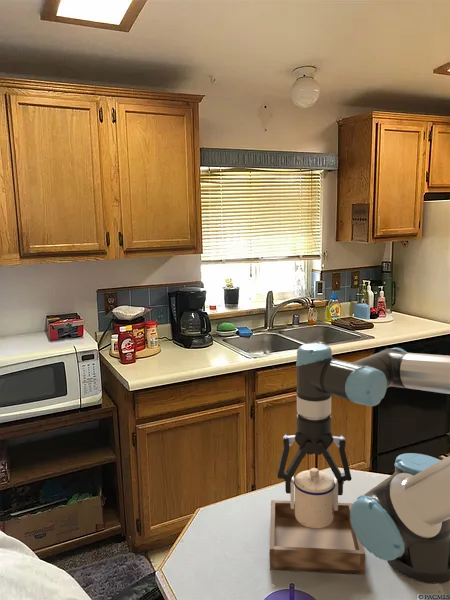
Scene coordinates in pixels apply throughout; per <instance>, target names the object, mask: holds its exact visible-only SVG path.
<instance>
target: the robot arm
mask: <svg viewBox="0 0 450 600" xmlns="http://www.w3.org/2000/svg"><path fill="white" fill-rule="evenodd" d="M332 352H333V351H332V348H331V347H330V346H328V345H327V344H324V343H315V342H313V343H305V344H302V345H300V346H299V347H298V349H297V351H296V362H295V363H296V364H295V369H296V370H295V371H296V413H297V414H296V432H295V434H293V435H292V434H291V435H288V434H287V433H284V434H283V435H282V442H283V447H282V451H281V455H280V459H279V463H278V468H277V472H276V473H277V474H276V475H277V479H279V480H281V479H283V480H284V481H285V482H284V483H285V485H284V486H285V490H284V491H285V493H286V494H290V501H291V509H294V501H295V485H294V479H295V477H294V476H295V473H296V472H297V469H298V467H300V464H301V463H302V460H303V459H304V458H305V457H306V455H319V456H320V455H322V456H323V458H324V459H325V461H326V462H327V464H328V466H329V468H330V470H331V471H332V474H333V475H334V477H332V478H333V480H334V482H335V488H334V510H335V511H338V503H339V496H343V493H344V483H345V481H348V482H350V481H352V475H351V471H350V467H349V463H348V458H347V454H346V450H345V449H346V442H347V441H346V438H345V436H344V434H343V435H342V434H340V435H339V436H338V435H337V436H336V435H333V434H332V415H331V414H332V396H335V397H337V398H339V399H340V398H341V399H343V400H346V401H348V402H352V403H354V404H356V405H357V404H358V405H362V406H368V407H376V406H377V405H379V404H380V403H381V401H382V399H384V398H385V395H386V392H387V389H388V388H389V387H395V388H402V389H411V390H420V391H424V392H425V391H426V392H433V393H439V394H448V395H449V394H450V355H447V354H446V355H443V354H430V353H418V352H417V353H415V352H414V353H413V352H407V351H406V350H405V349H403V348H401V347H393V348H385V349H383V350H380V351H379V352H376V353H373V354H371V355H369V356H366V357H364V358H360V359H358V360H355V361H352V362H351V361H346V360H340V359H337V358H334V357H333V353H332ZM294 442H296V444H297V445H298V448H297V451H296V453H295V455H294V456H293V458H292V460H291V462H290V463H289V465H288V467H287V469H286V465H287V462H288V457H289V453H290V447H291V446H293V444H294ZM332 443H334V444H335V447H337V448H338V452H339V456H340V460H341V463H342V468H343V472H341V470H340V468H339V467H338V465H337V463H336V461H335V459H334V457H333V456H332V454H331V452H330V450H329V447H331V445H332ZM285 469H286V470H285ZM350 517H351V519H350V520H351V525H352V528H353V530H354V533H355V534H356V536H357V538H358V540H359V541H360V542H361V544H362V545H363V547H364V549H366V550H367V551H368V552H369V553H371V554H372V555H374V557H376V558H378V559H380V560H383V561H387V562H388V563H389V565H390V566H391V567H392V568H393V569H394V570H395V571H396V572H398V573H399V574H401V575H403V576H404V577H406V578H409V579H411V580H413V581H416V582H421V583H426V584H442V583H446V582H449V581H450V455H448V456H446V457H445V458H443V459H438V458H436V457H434V456H430V455H428V454H423V453H415V452H413V453H412V452H410V453H409V452H407V453H402V454H399V455H398V456H396V458H395V462H394V473H393V474H391V475H390V476H388V477H387V478H385V479H384V480H383V481H381V482H380V483H379V484H377V485H376V486H374V487H373V488H371V489H370V490H368V491H367V492H366V493H364V494H362V495H359V496H357V498H356V500H354V501H353V503H352V506H351V509H350Z"/></svg>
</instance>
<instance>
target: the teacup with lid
mask: <svg viewBox="0 0 450 600" xmlns="http://www.w3.org/2000/svg"><path fill="white" fill-rule="evenodd" d="M334 488H335V482H334V480H333V477H332V475H330V474H328V473H327V472H324V471H321V470H319V469H318V468H316V467H312V468H310V469H308V470H307V469H306V470H303V471H300V472H299V473H298V474H296V475H295V477H294V501H295V517H296V519H297V520H298V522H300V523H301V524H302V525H304V526H307V527H310V528H323V527H326V526H328V525H330V524H331V523H332V521H333V513H334Z"/></svg>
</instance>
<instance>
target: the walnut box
mask: <svg viewBox="0 0 450 600" xmlns="http://www.w3.org/2000/svg"><path fill="white" fill-rule="evenodd" d="M352 504H353V503H352V502H338V511H335V510H334V513H333V521H332V523H331V524H330V525H328V526H326V527H323V528H310V527H307V526H304V525H302V524H301V523H300V522H298V520H297V519H296V517H295V500H294V509H291V500H281V499H280V500H279V499H275V500H274V499H271V500H270V526H269V527H270V528H269V530H270V531H269V570H270V571H283V572H284V571H285V572H286V571H287V572H288V571H289V572H303V573H304V572H305V573H320V574H323V573H324V574H340V575H359V576H365V574H366V573H365V572H366V551H365V547H364V546H363V545H362V544H361V542H360V541H359V540H358V538H357V536H356V534H355V533H354V530H353V528H352V525H351V520H350V519H351V517H350V509H351V506H352Z"/></svg>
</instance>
